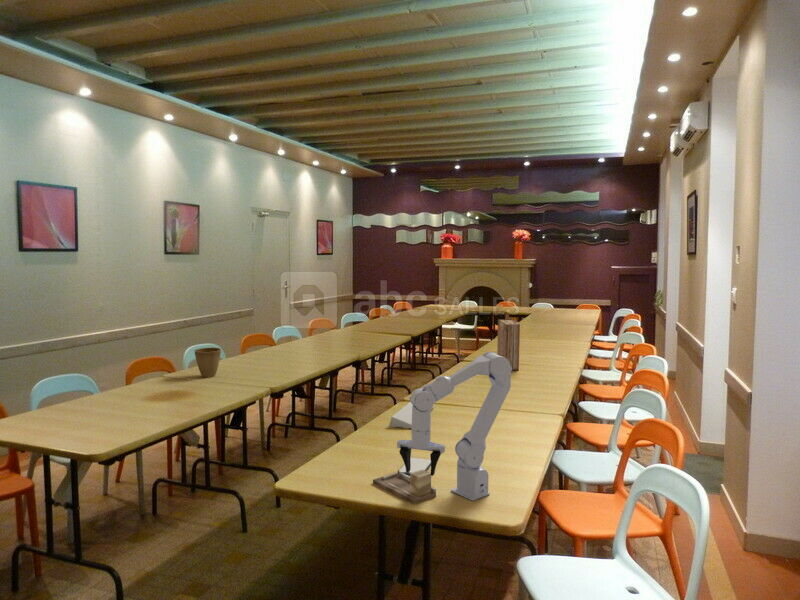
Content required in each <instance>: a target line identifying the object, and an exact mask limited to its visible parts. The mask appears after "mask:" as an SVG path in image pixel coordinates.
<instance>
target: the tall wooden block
mask: <svg viewBox="0 0 800 600" xmlns="http://www.w3.org/2000/svg"><path fill="white" fill-rule="evenodd" d="M520 333H521V324H520V323H519V322H518V321H516V320H515V319H512V318H497V352H496V354H497V355H499V356H502V357H505V358H506V359H507V360H508V361H509V363H510V365H511V367H512V371H513V370H514V371H516V370H517V371H519V370H520V341H521V340H520V335H521V334H520Z"/></svg>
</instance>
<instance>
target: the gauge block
mask: <svg viewBox="0 0 800 600" xmlns="http://www.w3.org/2000/svg"><path fill="white" fill-rule="evenodd" d="M431 487H432V476H431V472H429V471H425V470H419V471H416V472H413V473H410V493H412V494H414V495H416V496H418V497H419V496H422V495H425V494H428V493H431Z"/></svg>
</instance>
